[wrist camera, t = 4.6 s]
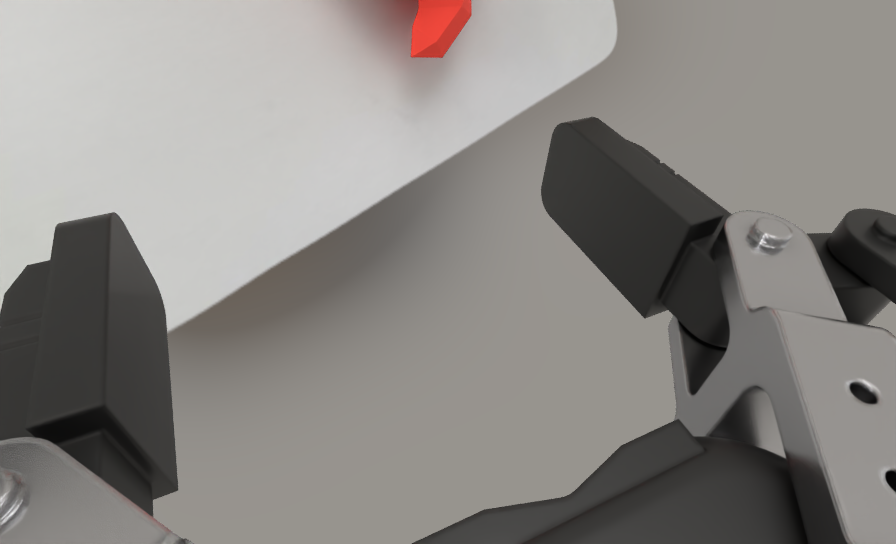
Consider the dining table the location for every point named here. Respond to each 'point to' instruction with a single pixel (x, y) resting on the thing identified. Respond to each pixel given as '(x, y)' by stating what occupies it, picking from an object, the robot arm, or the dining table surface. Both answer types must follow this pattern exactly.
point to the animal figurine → (438, 26)
